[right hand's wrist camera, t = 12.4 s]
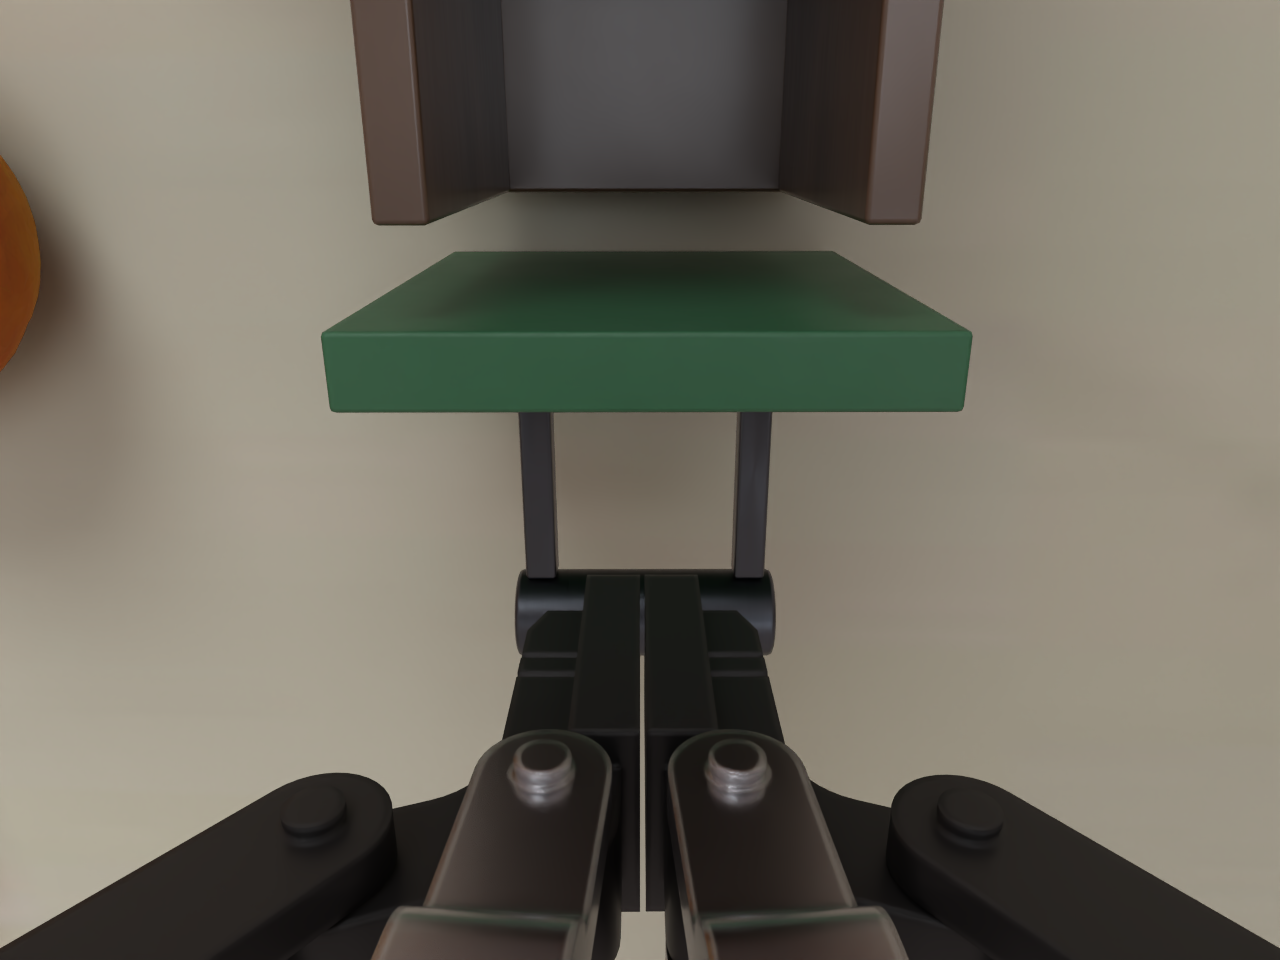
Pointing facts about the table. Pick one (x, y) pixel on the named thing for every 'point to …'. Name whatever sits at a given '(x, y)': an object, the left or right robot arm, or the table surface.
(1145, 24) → the table surface
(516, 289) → the drawer
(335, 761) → the table surface
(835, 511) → the table surface
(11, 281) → the fruit
